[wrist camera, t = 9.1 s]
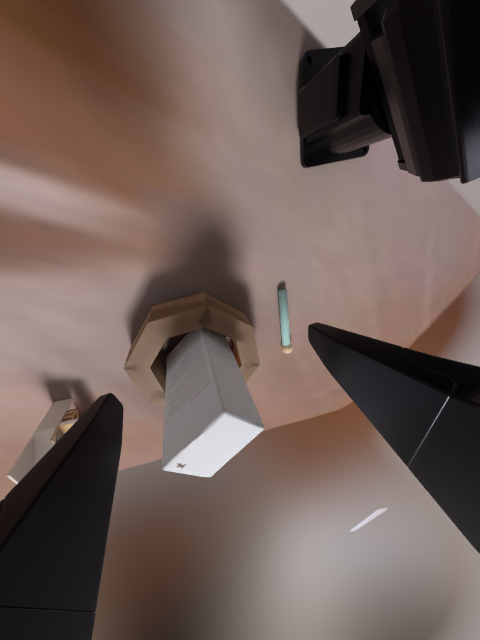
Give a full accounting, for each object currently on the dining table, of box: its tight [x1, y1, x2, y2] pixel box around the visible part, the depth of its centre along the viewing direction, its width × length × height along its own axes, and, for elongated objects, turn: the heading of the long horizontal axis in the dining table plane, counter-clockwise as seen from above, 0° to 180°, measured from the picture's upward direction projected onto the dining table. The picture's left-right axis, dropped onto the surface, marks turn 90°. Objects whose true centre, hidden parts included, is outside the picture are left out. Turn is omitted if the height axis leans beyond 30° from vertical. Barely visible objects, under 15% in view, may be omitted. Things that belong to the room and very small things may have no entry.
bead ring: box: [124, 292, 260, 407], centre depth 22 cm, size 12×12×4 cm
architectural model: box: [7, 398, 79, 484], centre depth 21 cm, size 3×7×7 cm, turn 2°
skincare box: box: [162, 327, 264, 477], centre depth 18 cm, size 6×4×12 cm
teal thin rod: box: [278, 289, 293, 353], centre depth 24 cm, size 9×1×1 cm, turn 11°
